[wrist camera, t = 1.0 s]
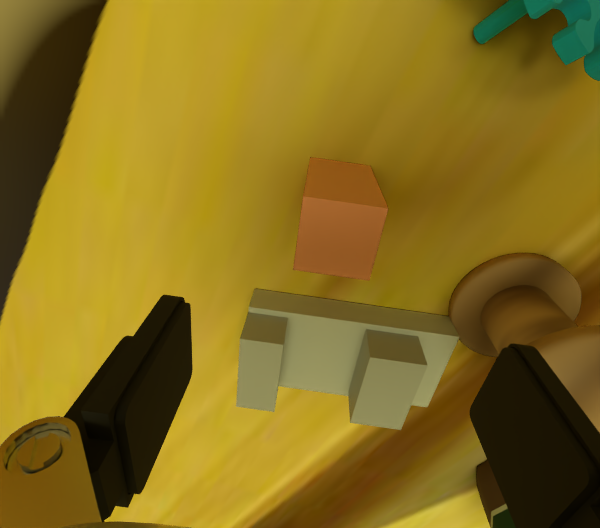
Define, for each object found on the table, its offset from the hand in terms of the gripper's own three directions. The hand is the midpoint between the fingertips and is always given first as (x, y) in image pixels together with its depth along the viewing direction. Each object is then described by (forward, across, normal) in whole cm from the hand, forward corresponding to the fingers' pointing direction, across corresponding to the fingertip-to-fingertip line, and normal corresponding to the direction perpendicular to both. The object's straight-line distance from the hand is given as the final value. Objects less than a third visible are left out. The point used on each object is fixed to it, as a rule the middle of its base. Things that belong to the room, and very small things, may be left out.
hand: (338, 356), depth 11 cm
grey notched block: (+16, -3, +13) cm, 21 cm away
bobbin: (+16, -15, +7) cm, 23 cm away
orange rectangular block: (+16, 0, 0) cm, 16 cm away
